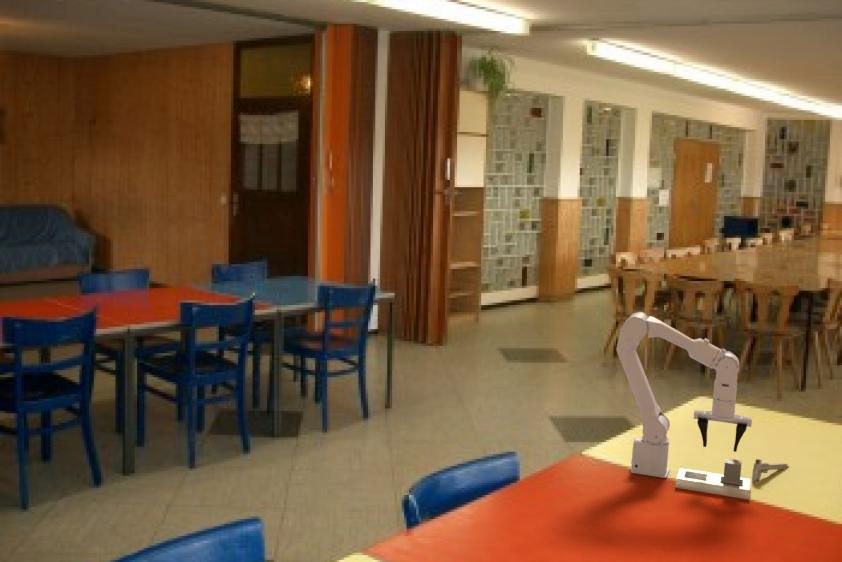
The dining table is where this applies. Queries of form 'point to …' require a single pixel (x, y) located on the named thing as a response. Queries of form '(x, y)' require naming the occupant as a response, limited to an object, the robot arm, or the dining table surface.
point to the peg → (732, 472)
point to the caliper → (765, 468)
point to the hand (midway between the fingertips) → (719, 448)
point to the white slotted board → (711, 483)
